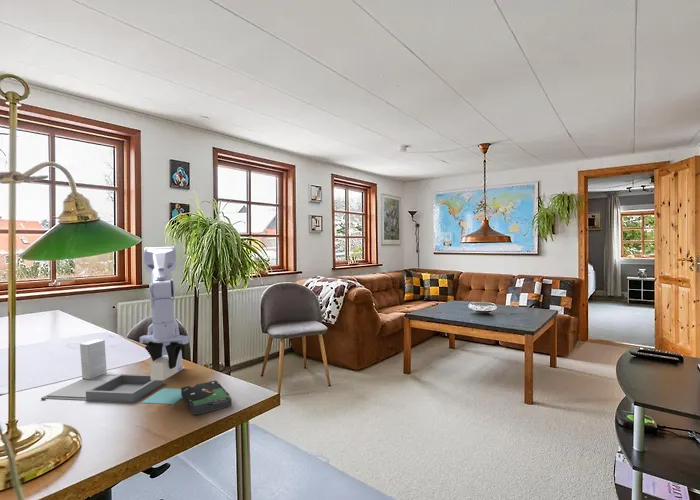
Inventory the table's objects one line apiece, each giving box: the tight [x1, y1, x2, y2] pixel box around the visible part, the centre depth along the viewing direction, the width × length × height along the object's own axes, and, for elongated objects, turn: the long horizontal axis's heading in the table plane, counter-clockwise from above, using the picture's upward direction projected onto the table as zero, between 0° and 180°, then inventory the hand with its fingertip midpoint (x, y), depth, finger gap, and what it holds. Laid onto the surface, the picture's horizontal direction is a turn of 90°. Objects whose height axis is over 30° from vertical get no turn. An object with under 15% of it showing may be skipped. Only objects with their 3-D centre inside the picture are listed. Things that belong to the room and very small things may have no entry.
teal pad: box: [140, 387, 184, 406], centre depth 112 cm, size 10×10×1 cm
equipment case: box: [40, 373, 165, 404], centre depth 117 cm, size 14×30×3 cm, turn 82°
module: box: [149, 355, 179, 381], centre depth 111 cm, size 7×4×5 cm, turn 172°
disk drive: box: [180, 380, 232, 415], centre depth 108 cm, size 10×3×15 cm
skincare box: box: [79, 338, 107, 380], centre depth 131 cm, size 6×4×12 cm
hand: (165, 367), depth 112 cm, fingers closed on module, 4 cm apart
